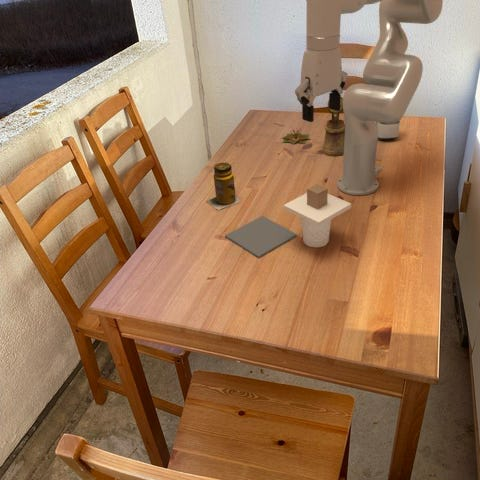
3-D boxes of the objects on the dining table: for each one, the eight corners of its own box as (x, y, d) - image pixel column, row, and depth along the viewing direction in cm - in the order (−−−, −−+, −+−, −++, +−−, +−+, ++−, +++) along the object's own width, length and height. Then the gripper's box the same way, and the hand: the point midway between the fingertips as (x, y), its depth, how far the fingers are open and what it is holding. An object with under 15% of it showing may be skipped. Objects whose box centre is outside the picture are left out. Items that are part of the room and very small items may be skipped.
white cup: (333, 234, 128) (334, 202, 122) (327, 251, 122) (329, 218, 116) (304, 230, 130) (304, 199, 125) (298, 247, 124) (297, 214, 119)
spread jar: (400, 142, 173) (403, 111, 166) (368, 144, 174) (371, 113, 167) (391, 130, 183) (395, 100, 176) (362, 132, 183) (364, 102, 177)
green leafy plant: (277, 145, 180) (276, 134, 178) (284, 133, 189) (284, 122, 187) (308, 147, 177) (308, 135, 174) (314, 134, 186) (314, 123, 183)
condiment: (241, 201, 146) (238, 166, 140) (218, 210, 143) (213, 175, 136) (228, 192, 152) (225, 158, 145) (206, 201, 148) (201, 166, 141)
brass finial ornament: (347, 141, 177) (349, 93, 167) (347, 156, 167) (350, 106, 156) (323, 141, 179) (324, 93, 169) (321, 156, 168) (322, 106, 158)
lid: (315, 192, 127) (315, 173, 124) (350, 207, 119) (352, 187, 116) (283, 209, 121) (283, 189, 118) (318, 226, 113) (319, 206, 110)
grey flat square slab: (262, 217, 138) (262, 215, 137) (297, 236, 128) (297, 234, 128) (225, 237, 131) (224, 235, 130) (258, 258, 121) (258, 256, 121)
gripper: (335, 33, 115) (333, 102, 125) (284, 48, 106) (286, 121, 116) (360, 36, 110) (355, 108, 120) (308, 53, 101) (308, 128, 111)
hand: (321, 115), depth 118 cm, fingers open, 9 cm apart
